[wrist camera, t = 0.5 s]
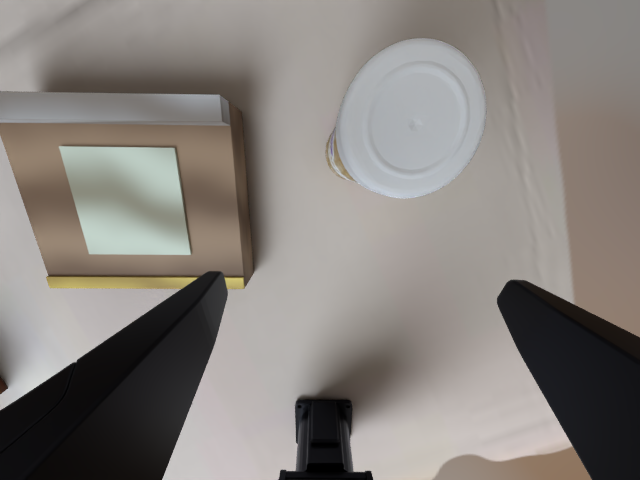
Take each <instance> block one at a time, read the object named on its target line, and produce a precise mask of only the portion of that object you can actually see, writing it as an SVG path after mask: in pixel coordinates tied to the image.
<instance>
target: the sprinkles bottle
mask: <svg viewBox="0 0 640 480" xmlns="http://www.w3.org/2000/svg"><path fill="white" fill-rule="evenodd" d="M486 112H487V108H486V96H485V91H484V87H483V83H482V81H481V78H480V76H479V73H478V72H477V70H476V68H475V67H474V65H473V64H472V63H471V61H470V60H469V59H468V58H467V57H466V56H465V55H464V54H463V53H462V52H461V51H459V50H458V49H457V48H455V47H454V46H452V45H450V44H447V43H445V42H443V41H440V40H436V39H430V38H414V39H408V40H404V41H400V42H397V43H395V44H392V45H390V46H388V47H386V48H385V49H383V50H381V51H380V52H379V53H377V54H376V55H374V56H373V57H372V58H371V59H370V60H369V61H368V62H367V63H366V64H365V65H364V66H363V67H362V68H361V69H360V71H359V72H358V73H357V75H356V76H355V78H354V79H353V81H352V83H351V84H350V86H349V88H348V90H347V92H346V94H345V96H344V99H343V101H342V104H341V107H340V110H339V113H338V117H337V123H336V127H335V129H334V131H333V133H332V134H331V136H330V138H329V140H328V142H327V145H326V159H327V162H328V165H329V167H330V169H331V170H332V171H333V172H334V173H335V174H336V175H337V176H339V177H341V178H343V179H347V180H350V181H353V182H356V183H359V184H360V185H362V186H363V187H365V188H367V189H368V190H371V191H373V192H375V193H378V194H382V195H385V196H389V197H393V198H415V197H420V196H424V195H427V194H430V193H432V192H434V191H436V190H438V189H440V188H442V187H444V186H445V185H447V184H448V183H450V182H451V181H452V180H453V179H454V178H456V177H457V176H458V175H459V174H460V173H461V172H462V171H463V169H464V168H465V167H466V166H467V165H468V163H469V162H470V160H471V159H472V157H473V156H474V154H475V152H476V150H477V148H478V146H479V144H480V141H481V138H482V135H483V132H484V127H485V121H486Z"/></svg>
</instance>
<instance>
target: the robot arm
mask: <svg viewBox="0 0 640 480" xmlns="http://www.w3.org/2000/svg"><path fill="white" fill-rule="evenodd" d="M227 296H228V291H227V286H226V282H225V278H224V274H223V272H221V271H208V272H206V273H204V274H203V275H201V276H200V277H198V278H197V279H196V280H194V281H193V282H191V283H190V284H188V285H187V286H185V287H184V288H182V289H181V290H179V291H178V292H176V293H175V294H173V295H172V296H170V297H169V298H168V299H166V300H165V301H163V302H162V303H160V304H159V305H157V306H156V307H154V308H153V309H151V310H150V311H148V312H147V313H145V314H144V315H142V316H141V317H140V318H138V319H137V320H135V321H134V322H132V323H131V324H129V325H128V326H126V327H125V328H123V329H122V330H120V331H119V332H117V333H116V334H115V335H113V336H112V337H110V338H109V339H107V340H106V341H104V342H103V343H101V344H100V345H98V346H97V347H95V348H94V349H92V350H91V351H89V352H88V353H87V354H85V355H84V356H82V357H81V358H79V359H78V360H77V362H74V363H72V364H70V365H69V366H67V367H66V368H64V369H63V370H61V371H60V372H58V373H57V374H55V375H54V376H52V377H51V378H49V379H48V380H46V381H45V382H43V383H42V384H40V385H39V386H37V387H36V388H34V389H33V390H31V391H30V392H28V393H27V394H25V395H24V396H22V397H21V398H19V399H18V400H16V401H15V402H13V403H11V404H10V405H8V406H7V407H5V408H3V409H2V410H0V480H162V479H163V476H164V473H165V471H166V468H167V466H168V463H169V461H170V458H171V455H172V453H173V450H174V448H175V445H176V443H177V440H178V437H179V435H180V432H181V430H182V427H183V425H184V422H185V419H186V417H187V414H188V412H189V409H190V407H191V404H192V401H193V399H194V396H195V394H196V391H197V389H198V386H199V383H200V381H201V378H202V376H203V373H204V371H205V368H206V365H207V363H208V360H209V358H210V355H211V353H212V350H213V347H214V344H215V341H216V338H217V334H218V330H219V327H220V323H221V319H222V315H223V312H224V308H225V304H226V300H227ZM497 305H498V307H499V309H500V312H501V314H502V316H503V318H504V320H505V323H506V325H507V327H508V329H509V331H510V334H511V336H512V338H513V340H514V342H515V344H516V347H517V349H518V351H519V353H520V354H521V356H522V358H523V360H524V362H525V363H526V365H527V367H528V369H529V370H530V372H531V374H532V376H533V377H534V379H535V381H536V383H537V384H538V386H539V388H540V390H541V391H542V393H543V395H544V397H545V398H546V400H547V402H548V404H549V405H550V407H551V409H552V411H553V412H554V414H555V416H556V418H557V419H558V421H559V423H560V425H561V426H562V428H563V430H564V432H565V433H566V435H567V437H568V439H569V440H570V442H571V444H572V446H573V447H574V449H575V451H576V453H577V454H578V456H579V458H580V459H581V461H582V463H583V465H584V466H585V468H586V470H587V472H588V473H589V475H590V477H591V479H592V480H640V337H638V336H636V335H634V334H632V333H630V332H628V331H626V330H624V329H622V328H620V327H618V326H616V325H614V324H612V323H610V322H608V321H606V320H604V319H602V318H600V317H598V316H596V315H594V314H592V313H590V312H588V311H586V310H584V309H582V308H580V307H578V306H576V305H574V304H572V303H570V302H568V301H566V300H564V299H562V298H560V297H558V296H556V295H554V294H552V293H550V292H548V291H546V290H544V289H542V288H540V287H538V286H536V285H534V284H532V283H530V282H528V281H525V280H510V281H508V282H507V283H506V285H505V286H504V288H503V290H502V291H501V293H500V294H499V296H498V298H497ZM295 418H296V443H297V444H298V447H297V461H296V471H286V470H281V471H280V477H279V480H373V477H372V473H371V471H365V472H354V471H353V463H352V455H351V446H350V434H351V419H352V402H351V401H350V400H298V401H296V404H295Z"/></svg>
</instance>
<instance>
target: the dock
mask: <svg viewBox="0 0 640 480" xmlns="http://www.w3.org/2000/svg"><path fill="white" fill-rule="evenodd" d="M0 135H1V138H2V141H3V144H4V147H5V150H6V153H7V156H8V159H9V162H10V165H11V167H12V170H13V173H14V176H15V179H16V182H17V185H18V188H19V191H20V194H21V197H22V200H23V203H24V206H25V208H26V211H27V214H28V217H29V220H30V223H31V226H32V229H33V232H34V235H35V238H36V241H37V244H38V246H39V249H40V252H41V255H42V258H43V261H44V264H45V267H46V270H47V273H48V276H47V277H46V279H47V282H48V284H49V287H50V288H135V289H182V288H184V287H185V286H187V285H188V284H190V283H191V282H193V281H194V280H196V279H197V278H198V277H200V276H201V275H203V274H204V273H206V272H208V271H221V272H223V274H224V278H225V282H226V286H227V289H244V288H245V286H246V285H247V283H248V282H249V280H250V278H251V277H252V275H253V273H254V269H253V256H252V242H251V229H250V215H249V202H248V188H247V175H246V161H245V148H244V134H243V121H242V112H241V111H240V110H239V109H238V108H236V107H235V106H234V105H232V104H231V103H230V102H228V101H227V100H226V99H224V98H223V97H222V96H221V95H203V94H139V93H75V92H10V91H0Z"/></svg>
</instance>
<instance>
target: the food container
mask: <svg viewBox="0 0 640 480" xmlns="http://www.w3.org/2000/svg"><path fill="white" fill-rule="evenodd" d="M6 389H8V388H7V386H6V384H5V382H4V380H3V379H2V378H1V377H0V394H1V393H3V392H4V391H5V390H6Z"/></svg>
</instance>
